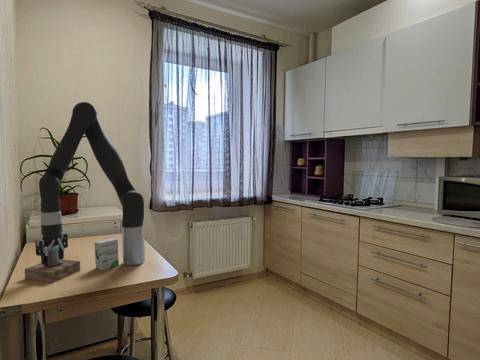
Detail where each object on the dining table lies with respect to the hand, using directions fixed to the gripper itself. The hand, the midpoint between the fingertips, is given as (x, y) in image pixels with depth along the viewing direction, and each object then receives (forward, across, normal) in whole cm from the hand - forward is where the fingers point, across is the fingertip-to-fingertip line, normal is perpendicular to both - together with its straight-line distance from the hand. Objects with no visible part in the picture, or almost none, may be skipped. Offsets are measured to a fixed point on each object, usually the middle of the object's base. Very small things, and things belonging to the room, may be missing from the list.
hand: (53, 261), depth 132 cm
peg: (+5, 0, 0) cm, 5 cm away
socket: (+5, 0, 0) cm, 5 cm away
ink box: (+6, +14, -15) cm, 21 cm away
